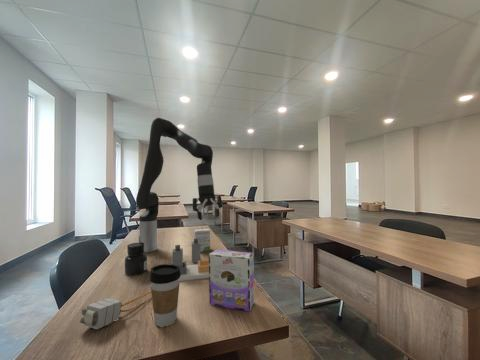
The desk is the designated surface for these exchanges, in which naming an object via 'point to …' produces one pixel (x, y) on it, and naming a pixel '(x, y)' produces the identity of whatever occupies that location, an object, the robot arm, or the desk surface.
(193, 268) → the dock
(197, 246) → the plug
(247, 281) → the candy box
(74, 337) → the desk surface
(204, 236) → the ink box
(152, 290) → the coffee cup
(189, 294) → the desk surface
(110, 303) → the electrical component
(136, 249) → the ink bottle
